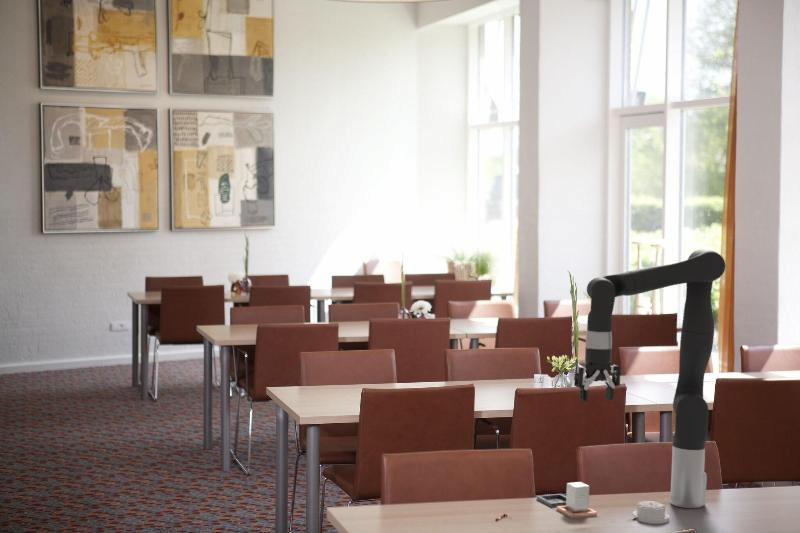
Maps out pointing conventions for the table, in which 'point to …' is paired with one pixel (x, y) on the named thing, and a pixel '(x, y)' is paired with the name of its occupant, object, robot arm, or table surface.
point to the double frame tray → (564, 506)
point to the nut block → (577, 497)
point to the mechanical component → (651, 512)
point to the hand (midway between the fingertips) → (596, 401)
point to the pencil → (501, 517)
